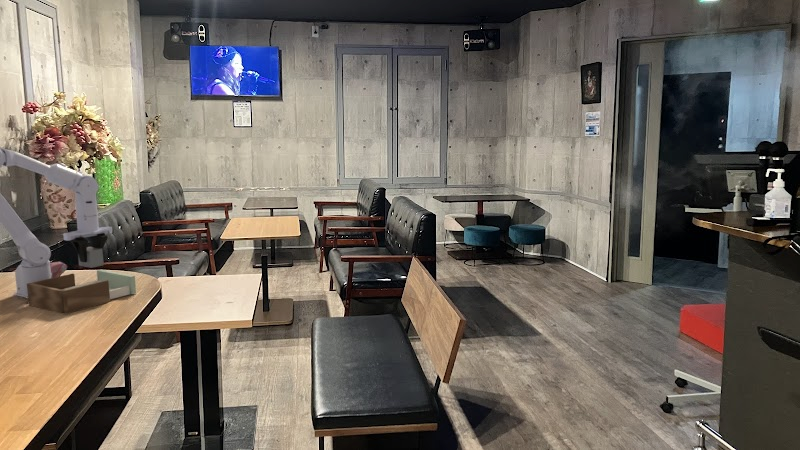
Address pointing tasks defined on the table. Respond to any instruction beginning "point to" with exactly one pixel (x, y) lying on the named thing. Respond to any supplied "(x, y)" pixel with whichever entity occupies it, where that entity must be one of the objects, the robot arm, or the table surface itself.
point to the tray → (114, 283)
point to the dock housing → (66, 294)
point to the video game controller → (57, 269)
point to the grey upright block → (93, 258)
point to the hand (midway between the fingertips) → (90, 260)
